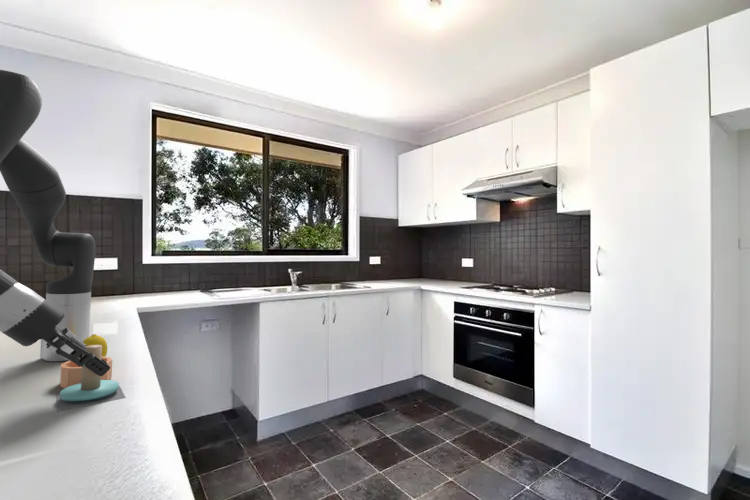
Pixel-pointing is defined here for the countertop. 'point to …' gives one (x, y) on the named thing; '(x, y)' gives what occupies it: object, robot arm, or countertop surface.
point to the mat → (87, 401)
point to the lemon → (97, 343)
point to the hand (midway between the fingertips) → (104, 369)
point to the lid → (90, 383)
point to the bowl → (79, 373)
